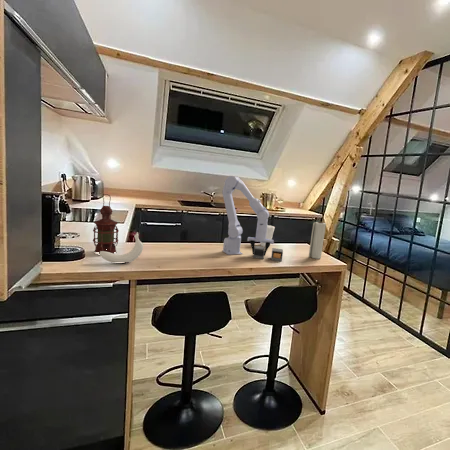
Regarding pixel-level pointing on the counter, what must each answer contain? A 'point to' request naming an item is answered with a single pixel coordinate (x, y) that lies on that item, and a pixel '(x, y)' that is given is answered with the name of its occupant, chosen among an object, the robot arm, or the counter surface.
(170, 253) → the counter surface
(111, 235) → the lantern
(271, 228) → the foam cup
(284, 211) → the counter surface
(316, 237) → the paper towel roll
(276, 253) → the orange block
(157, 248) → the counter surface
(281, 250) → the open grey box
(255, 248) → the grey hollow cube
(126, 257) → the banana
